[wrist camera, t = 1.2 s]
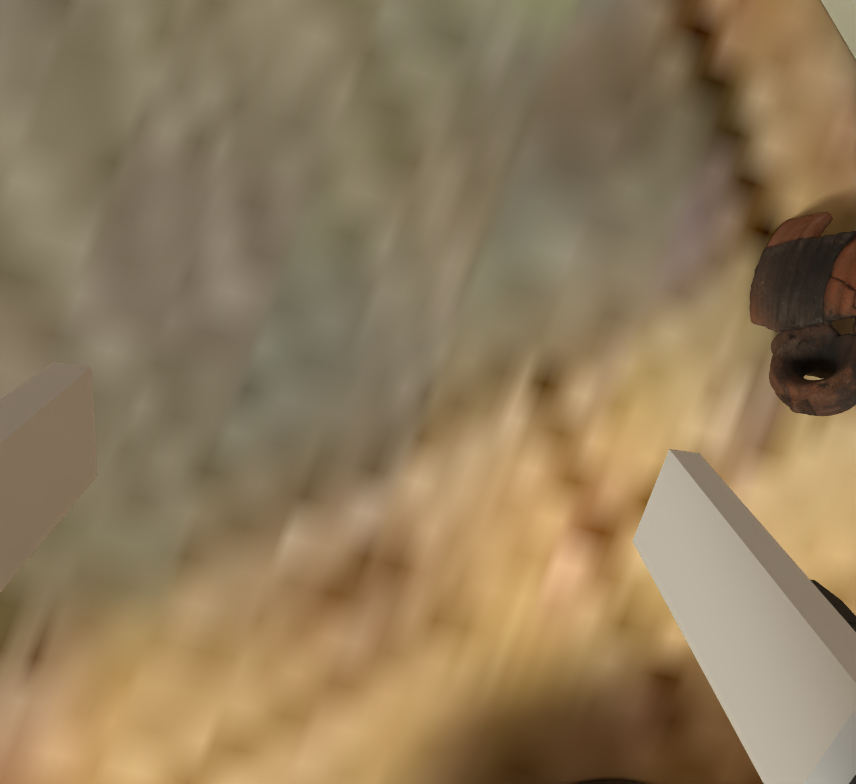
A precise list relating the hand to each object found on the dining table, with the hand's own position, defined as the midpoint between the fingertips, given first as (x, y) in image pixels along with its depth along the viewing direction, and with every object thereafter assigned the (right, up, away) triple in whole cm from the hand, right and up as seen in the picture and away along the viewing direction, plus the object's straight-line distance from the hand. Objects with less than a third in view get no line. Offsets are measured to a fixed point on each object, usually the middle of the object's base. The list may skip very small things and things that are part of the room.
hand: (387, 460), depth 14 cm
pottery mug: (+21, +6, +18) cm, 28 cm away
